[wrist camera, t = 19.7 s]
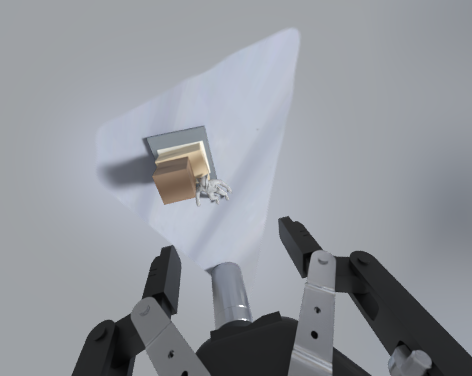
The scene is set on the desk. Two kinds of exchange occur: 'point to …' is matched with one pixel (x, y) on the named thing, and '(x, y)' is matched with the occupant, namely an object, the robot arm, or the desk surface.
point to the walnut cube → (175, 180)
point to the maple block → (194, 156)
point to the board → (183, 144)
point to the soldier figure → (211, 188)
